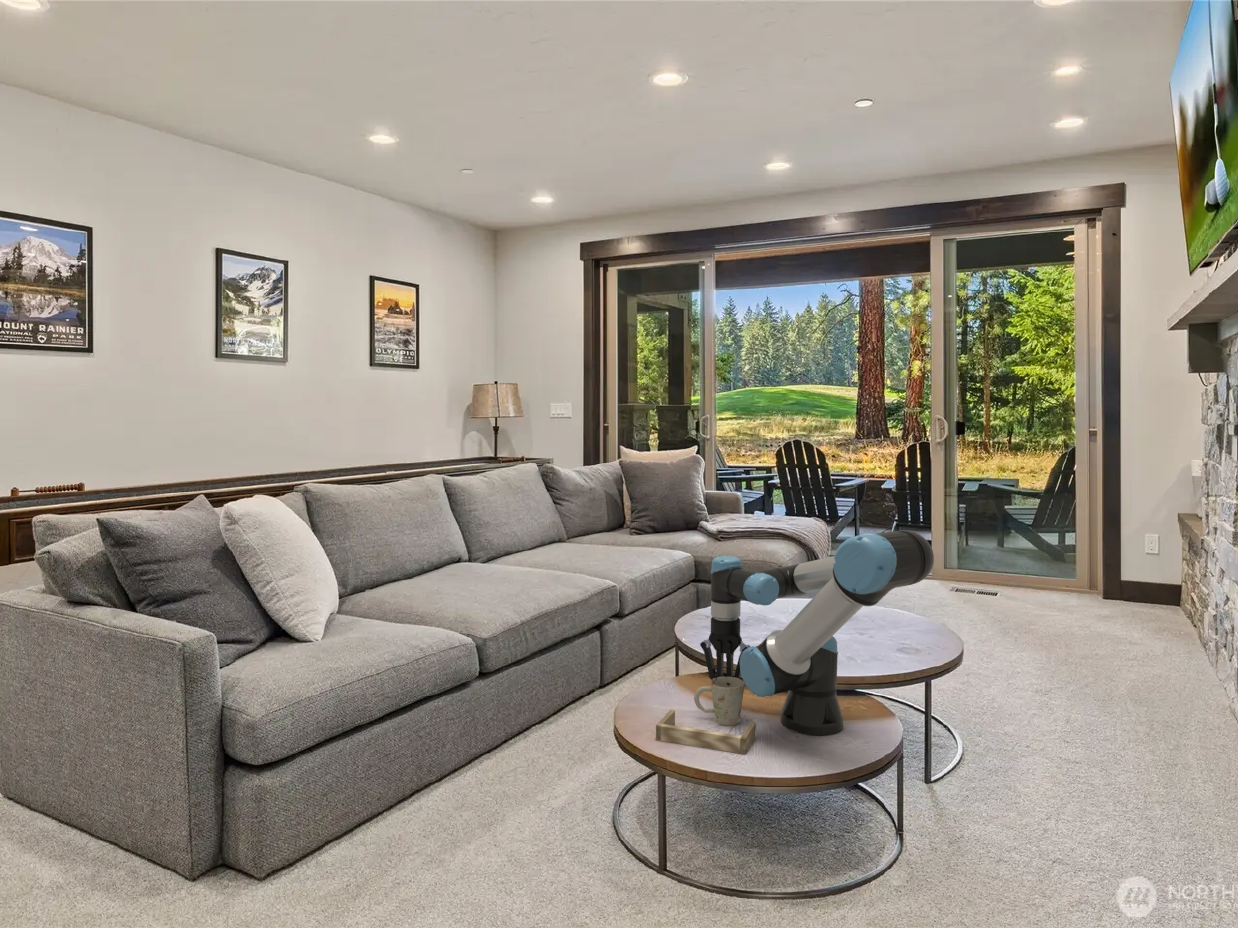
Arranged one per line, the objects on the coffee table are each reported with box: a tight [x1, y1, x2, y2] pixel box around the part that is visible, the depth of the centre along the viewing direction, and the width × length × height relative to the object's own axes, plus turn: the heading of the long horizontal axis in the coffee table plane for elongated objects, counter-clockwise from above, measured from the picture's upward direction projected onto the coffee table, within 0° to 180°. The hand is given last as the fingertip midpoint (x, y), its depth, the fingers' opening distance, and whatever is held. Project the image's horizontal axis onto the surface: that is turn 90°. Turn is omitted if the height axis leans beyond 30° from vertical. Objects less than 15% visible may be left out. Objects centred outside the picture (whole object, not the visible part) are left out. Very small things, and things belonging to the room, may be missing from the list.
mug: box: [693, 676, 745, 726], centre depth 204 cm, size 8×13×10 cm, turn 78°
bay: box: [655, 709, 757, 755], centre depth 193 cm, size 21×11×4 cm, turn 68°
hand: (724, 706), depth 209 cm, fingers closed
